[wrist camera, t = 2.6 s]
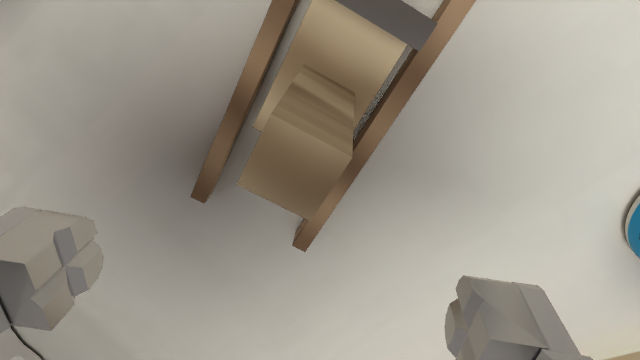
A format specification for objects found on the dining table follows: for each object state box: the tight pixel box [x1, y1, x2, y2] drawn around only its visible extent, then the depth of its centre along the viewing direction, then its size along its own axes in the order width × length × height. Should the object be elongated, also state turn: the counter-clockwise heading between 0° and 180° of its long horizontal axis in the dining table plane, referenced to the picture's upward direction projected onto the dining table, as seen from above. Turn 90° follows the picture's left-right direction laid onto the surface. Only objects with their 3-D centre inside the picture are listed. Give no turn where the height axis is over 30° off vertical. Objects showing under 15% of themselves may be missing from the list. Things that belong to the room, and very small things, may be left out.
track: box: [191, 0, 476, 252], centre depth 19 cm, size 26×9×2 cm, turn 152°
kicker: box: [236, 0, 438, 221], centre depth 16 cm, size 9×5×10 cm, turn 152°
